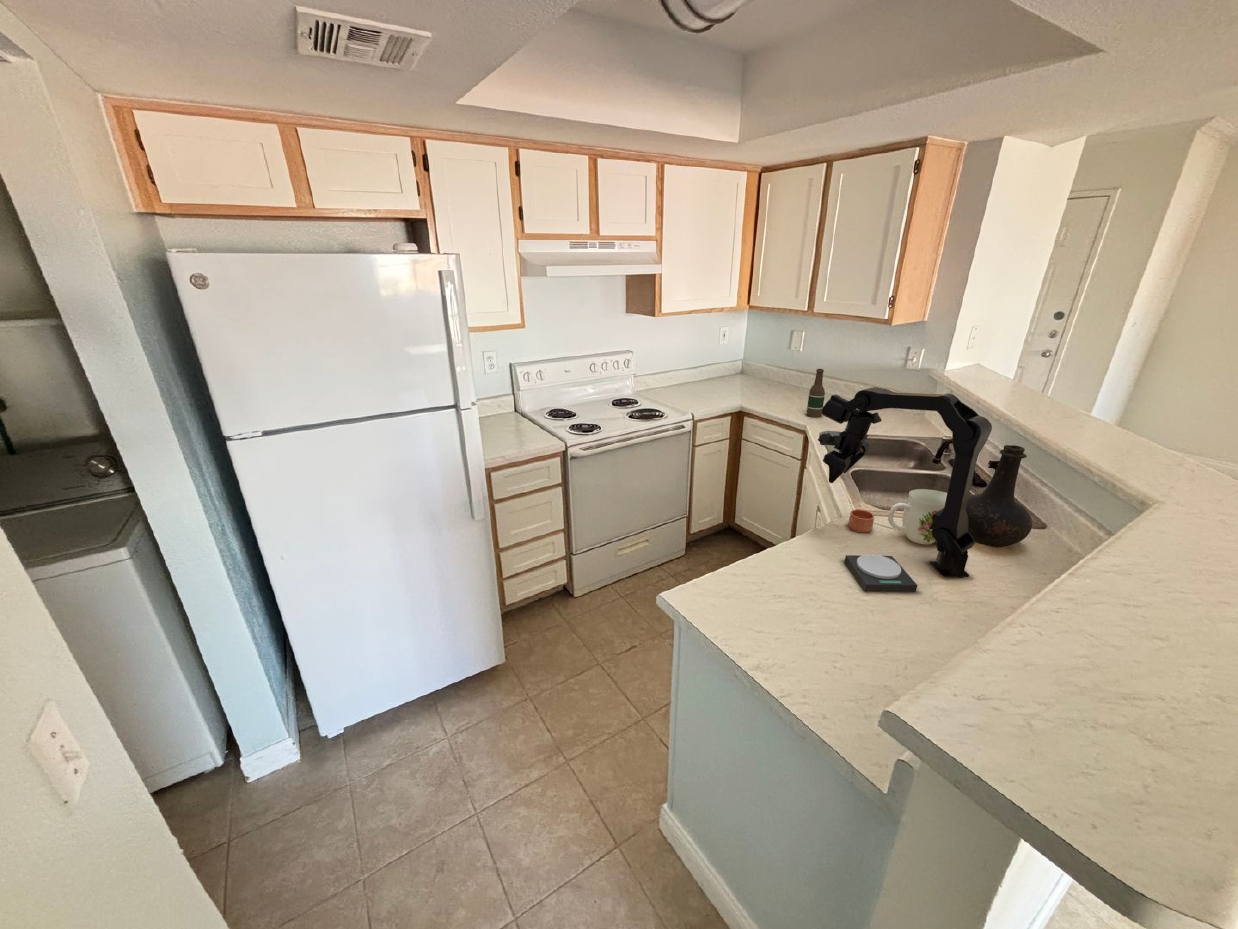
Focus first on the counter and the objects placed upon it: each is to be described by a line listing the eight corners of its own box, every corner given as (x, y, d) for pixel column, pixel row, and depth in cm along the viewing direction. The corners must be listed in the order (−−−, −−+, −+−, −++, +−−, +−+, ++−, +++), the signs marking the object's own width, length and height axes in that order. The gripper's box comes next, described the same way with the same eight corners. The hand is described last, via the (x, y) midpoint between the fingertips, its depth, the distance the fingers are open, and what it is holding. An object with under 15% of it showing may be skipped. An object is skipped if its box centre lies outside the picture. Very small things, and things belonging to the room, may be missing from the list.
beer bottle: (819, 418, 253) (826, 371, 244) (803, 416, 258) (809, 369, 249) (823, 415, 259) (830, 368, 250) (808, 412, 264) (814, 367, 255)
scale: (915, 592, 120) (918, 582, 119) (864, 591, 120) (866, 581, 119) (890, 562, 132) (892, 553, 131) (844, 561, 132) (845, 552, 131)
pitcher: (876, 528, 149) (884, 486, 143) (939, 529, 147) (950, 487, 142) (892, 547, 138) (902, 503, 133) (960, 549, 137) (972, 504, 132)
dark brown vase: (933, 531, 146) (956, 441, 136) (973, 519, 153) (998, 432, 143) (997, 562, 131) (1029, 463, 121) (1038, 547, 138) (1071, 451, 128)
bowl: (875, 533, 146) (878, 519, 144) (853, 533, 146) (855, 519, 144) (866, 522, 152) (868, 509, 150) (844, 522, 152) (847, 509, 150)
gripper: (841, 411, 150) (824, 456, 158) (814, 427, 138) (797, 475, 146) (879, 426, 144) (859, 472, 152) (853, 444, 132) (833, 493, 140)
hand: (837, 477), depth 148 cm, fingers open, 9 cm apart
